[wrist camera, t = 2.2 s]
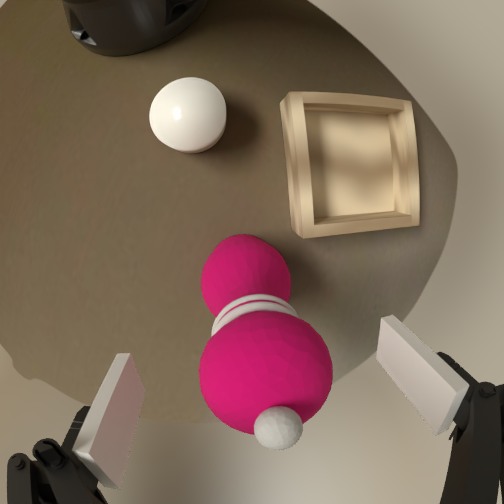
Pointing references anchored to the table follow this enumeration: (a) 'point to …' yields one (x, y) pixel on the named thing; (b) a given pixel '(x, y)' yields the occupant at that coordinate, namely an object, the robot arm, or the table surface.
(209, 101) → the white egg-shaped pebble
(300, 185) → the tray
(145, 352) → the table surface
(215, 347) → the pepper mill
